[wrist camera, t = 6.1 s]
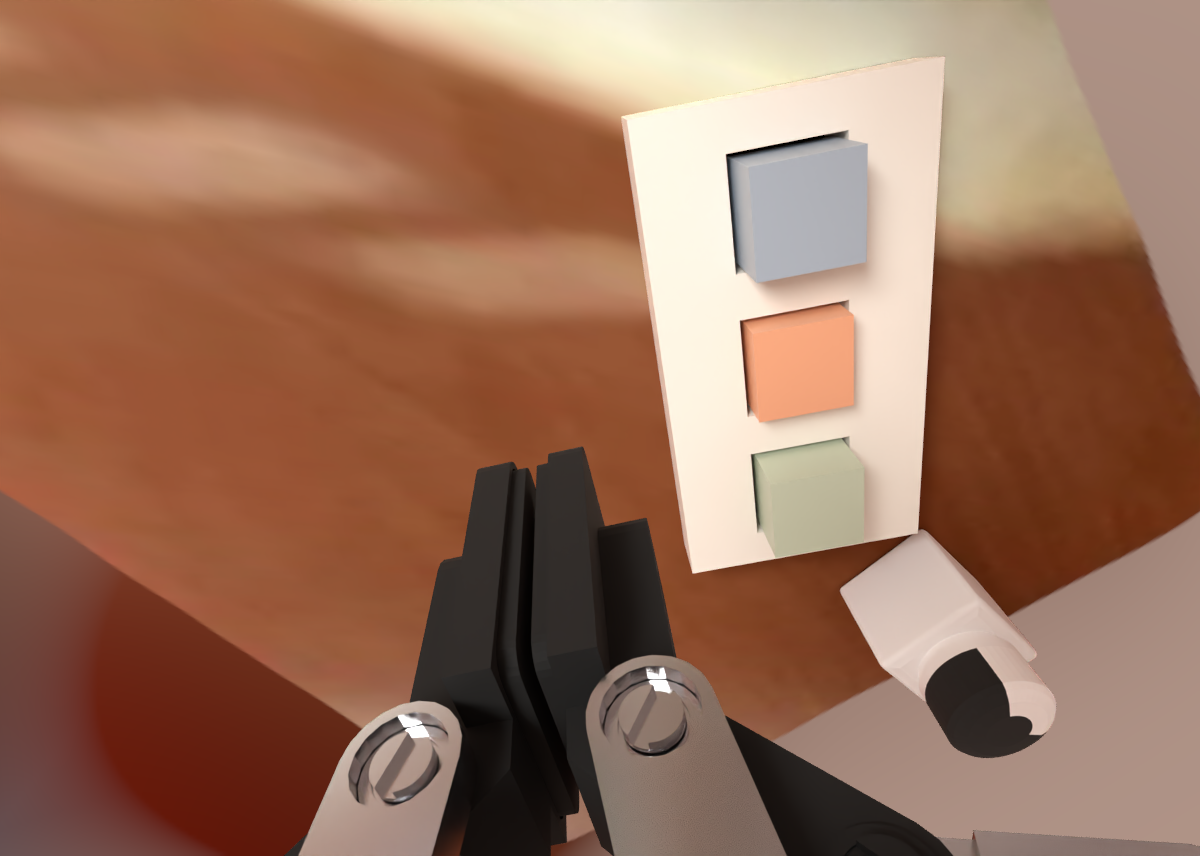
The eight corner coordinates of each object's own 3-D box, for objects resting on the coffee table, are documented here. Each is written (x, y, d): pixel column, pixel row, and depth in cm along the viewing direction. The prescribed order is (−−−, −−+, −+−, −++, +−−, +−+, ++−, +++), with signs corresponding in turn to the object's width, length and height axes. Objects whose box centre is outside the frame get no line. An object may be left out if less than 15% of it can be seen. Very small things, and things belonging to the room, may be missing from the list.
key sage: (751, 447, 39) (770, 484, 35) (836, 431, 39) (864, 467, 35) (756, 516, 41) (775, 557, 38) (837, 502, 41) (863, 542, 38)
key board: (621, 116, 32) (626, 119, 29) (912, 58, 32) (945, 56, 29) (684, 543, 44) (692, 573, 41) (895, 505, 44) (917, 533, 41)
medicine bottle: (894, 637, 49) (986, 790, 39) (836, 588, 47) (918, 737, 36) (976, 579, 47) (1099, 725, 36) (920, 525, 45) (1035, 664, 34)
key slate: (726, 157, 31) (748, 167, 28) (832, 136, 31) (867, 143, 28) (735, 261, 34) (756, 283, 30) (833, 242, 34) (866, 261, 30)
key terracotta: (733, 309, 36) (752, 333, 33) (824, 291, 36) (853, 314, 33) (740, 391, 39) (759, 422, 35) (826, 375, 39) (853, 405, 35)
